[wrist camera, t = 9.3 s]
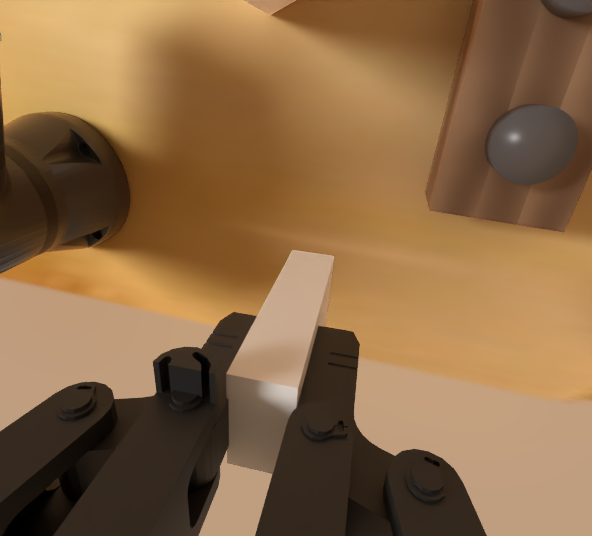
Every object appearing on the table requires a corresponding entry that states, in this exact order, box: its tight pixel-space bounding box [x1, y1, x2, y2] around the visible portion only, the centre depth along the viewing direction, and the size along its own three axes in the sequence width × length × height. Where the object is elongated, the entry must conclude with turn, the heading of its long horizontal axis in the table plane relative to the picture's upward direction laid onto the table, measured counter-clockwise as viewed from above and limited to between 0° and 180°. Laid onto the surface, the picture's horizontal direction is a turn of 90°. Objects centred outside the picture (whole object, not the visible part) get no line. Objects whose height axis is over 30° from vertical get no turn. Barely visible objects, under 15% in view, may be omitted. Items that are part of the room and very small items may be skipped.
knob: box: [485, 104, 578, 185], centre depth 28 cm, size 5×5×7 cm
